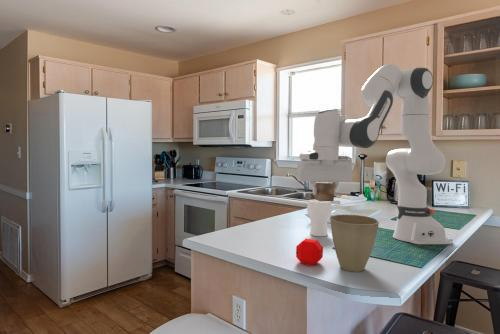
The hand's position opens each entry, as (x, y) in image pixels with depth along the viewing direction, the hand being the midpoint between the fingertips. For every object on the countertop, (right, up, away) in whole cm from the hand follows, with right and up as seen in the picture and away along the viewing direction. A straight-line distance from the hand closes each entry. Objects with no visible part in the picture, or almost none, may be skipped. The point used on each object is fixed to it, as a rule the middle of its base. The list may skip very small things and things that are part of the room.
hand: (323, 194), depth 122 cm
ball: (-6, -23, -6) cm, 24 cm away
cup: (+5, -21, +33) cm, 39 cm away
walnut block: (0, -2, 0) cm, 2 cm away
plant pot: (+7, -23, -10) cm, 26 cm away
